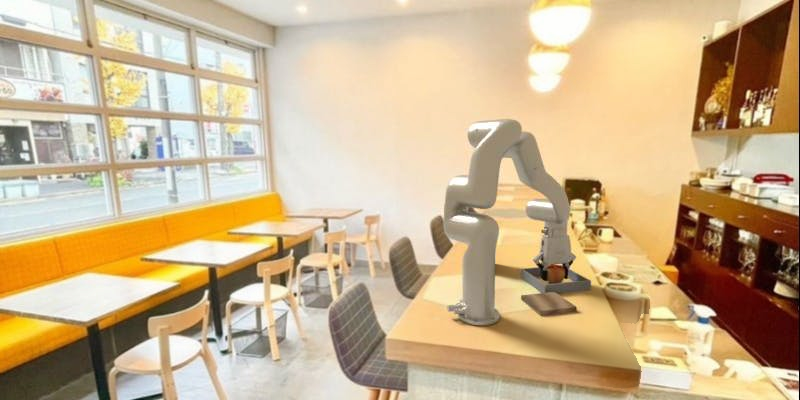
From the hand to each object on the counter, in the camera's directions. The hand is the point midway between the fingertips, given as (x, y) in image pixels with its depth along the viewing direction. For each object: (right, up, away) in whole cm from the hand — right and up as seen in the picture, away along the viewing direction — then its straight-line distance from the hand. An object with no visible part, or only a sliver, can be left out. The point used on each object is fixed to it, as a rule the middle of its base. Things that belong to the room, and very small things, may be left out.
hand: (554, 278), depth 138 cm
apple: (0, -2, 0) cm, 2 cm away
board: (-9, -5, -17) cm, 20 cm away
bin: (0, -2, 0) cm, 2 cm away
